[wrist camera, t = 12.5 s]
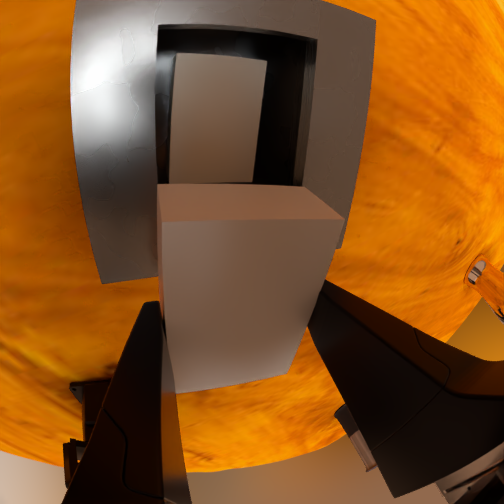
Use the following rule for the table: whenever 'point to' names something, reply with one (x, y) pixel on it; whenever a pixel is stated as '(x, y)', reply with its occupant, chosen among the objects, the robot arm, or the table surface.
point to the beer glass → (487, 284)
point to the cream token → (213, 118)
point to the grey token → (239, 277)
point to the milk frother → (355, 437)
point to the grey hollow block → (157, 106)
